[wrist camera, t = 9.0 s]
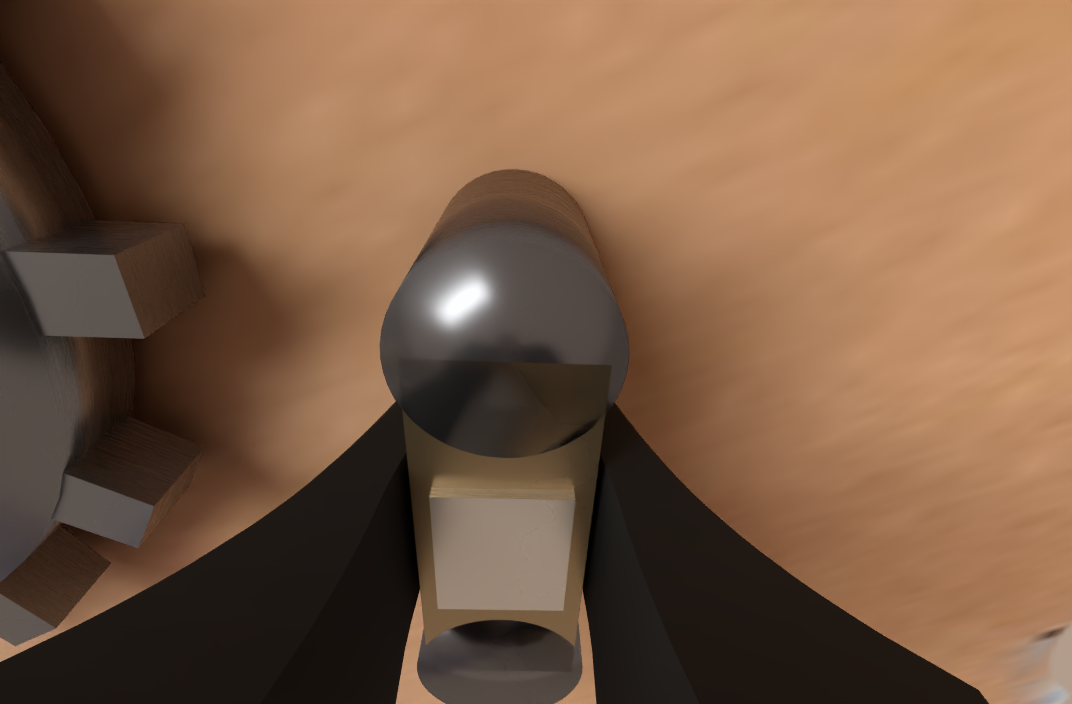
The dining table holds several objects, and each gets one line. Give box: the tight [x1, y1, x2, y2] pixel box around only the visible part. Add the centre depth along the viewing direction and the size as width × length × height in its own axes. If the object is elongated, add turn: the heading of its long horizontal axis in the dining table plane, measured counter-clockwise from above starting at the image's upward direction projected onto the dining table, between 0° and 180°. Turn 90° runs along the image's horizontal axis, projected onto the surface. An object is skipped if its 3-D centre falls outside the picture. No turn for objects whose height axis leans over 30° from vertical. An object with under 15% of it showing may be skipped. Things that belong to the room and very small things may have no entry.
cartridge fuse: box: [380, 169, 629, 704], centre depth 10 cm, size 10×3×5 cm, turn 178°
